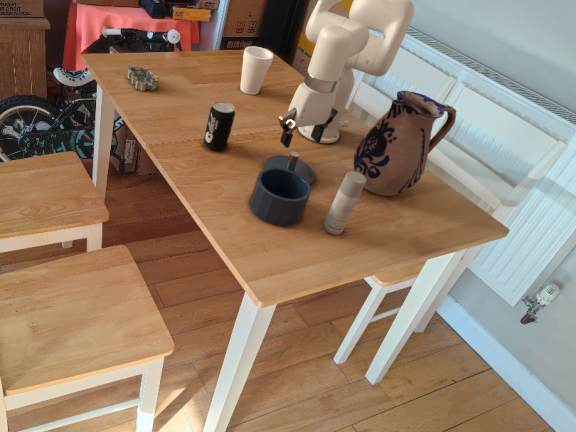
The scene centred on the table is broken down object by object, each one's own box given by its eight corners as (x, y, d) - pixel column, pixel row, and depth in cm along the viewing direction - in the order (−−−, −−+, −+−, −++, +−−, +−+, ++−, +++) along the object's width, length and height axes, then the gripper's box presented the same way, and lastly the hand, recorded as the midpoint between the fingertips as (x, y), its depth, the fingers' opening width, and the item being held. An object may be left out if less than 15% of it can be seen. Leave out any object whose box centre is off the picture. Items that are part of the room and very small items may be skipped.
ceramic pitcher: (332, 168, 142) (367, 85, 126) (392, 163, 149) (433, 84, 133) (369, 209, 130) (412, 122, 114) (432, 201, 137) (481, 120, 121)
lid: (294, 155, 143) (301, 137, 139) (323, 184, 134) (331, 165, 131) (253, 161, 137) (259, 142, 133) (281, 192, 129) (288, 172, 125)
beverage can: (224, 154, 138) (234, 115, 130) (200, 148, 138) (209, 108, 130) (228, 142, 143) (238, 104, 135) (205, 136, 143) (213, 97, 135)
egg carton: (158, 91, 159) (160, 79, 156) (135, 92, 156) (137, 79, 153) (147, 75, 166) (148, 63, 163) (125, 75, 163) (126, 63, 160)
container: (326, 218, 123) (349, 168, 114) (345, 227, 122) (369, 177, 113) (320, 228, 120) (343, 177, 111) (339, 237, 119) (363, 186, 109)
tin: (282, 188, 130) (291, 164, 125) (311, 220, 122) (321, 196, 117) (240, 196, 125) (247, 171, 120) (267, 230, 116) (276, 204, 112)
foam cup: (245, 80, 175) (254, 44, 167) (268, 91, 172) (278, 54, 164) (230, 88, 169) (239, 50, 160) (253, 99, 165) (264, 61, 157)
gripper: (339, 70, 125) (318, 129, 137) (281, 76, 118) (263, 138, 130) (359, 86, 121) (335, 145, 132) (300, 92, 114) (279, 155, 125)
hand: (299, 142), depth 131 cm, fingers open, 9 cm apart
